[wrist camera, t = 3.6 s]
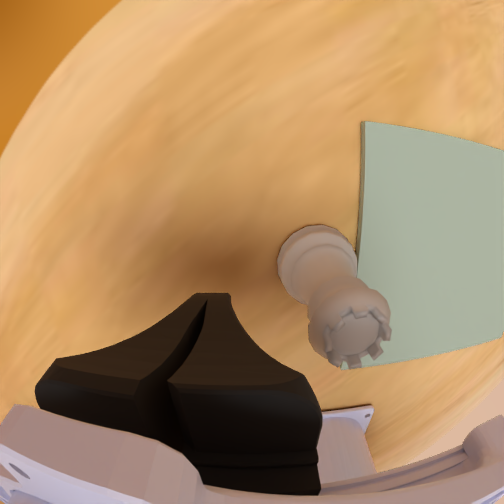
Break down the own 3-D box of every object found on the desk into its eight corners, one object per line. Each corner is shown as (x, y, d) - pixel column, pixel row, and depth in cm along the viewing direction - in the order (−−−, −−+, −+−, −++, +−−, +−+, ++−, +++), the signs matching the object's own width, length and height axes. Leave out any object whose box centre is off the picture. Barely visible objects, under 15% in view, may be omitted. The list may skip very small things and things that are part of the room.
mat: (497, 334, 19) (501, 337, 19) (339, 364, 19) (341, 370, 19) (532, 161, 14) (537, 162, 14) (361, 122, 14) (365, 121, 14)
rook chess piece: (357, 227, 16) (430, 285, 9) (342, 297, 18) (391, 384, 10) (281, 218, 16) (307, 277, 8) (271, 292, 17) (285, 388, 10)
